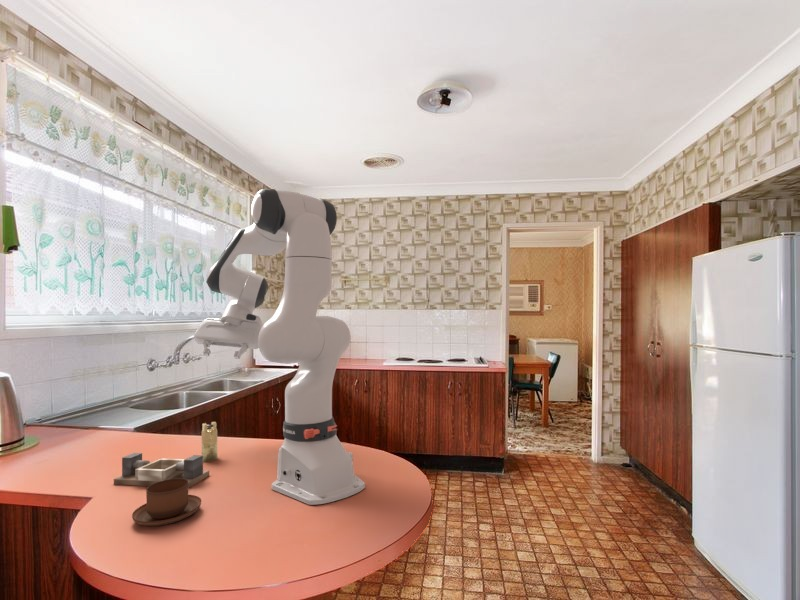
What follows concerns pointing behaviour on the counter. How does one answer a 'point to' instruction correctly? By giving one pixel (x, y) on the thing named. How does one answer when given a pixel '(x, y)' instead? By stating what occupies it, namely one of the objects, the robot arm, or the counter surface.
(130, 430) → the counter surface
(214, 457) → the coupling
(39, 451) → the counter surface
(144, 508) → the cup and saucer
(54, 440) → the counter surface
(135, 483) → the shaft stand
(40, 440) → the counter surface
